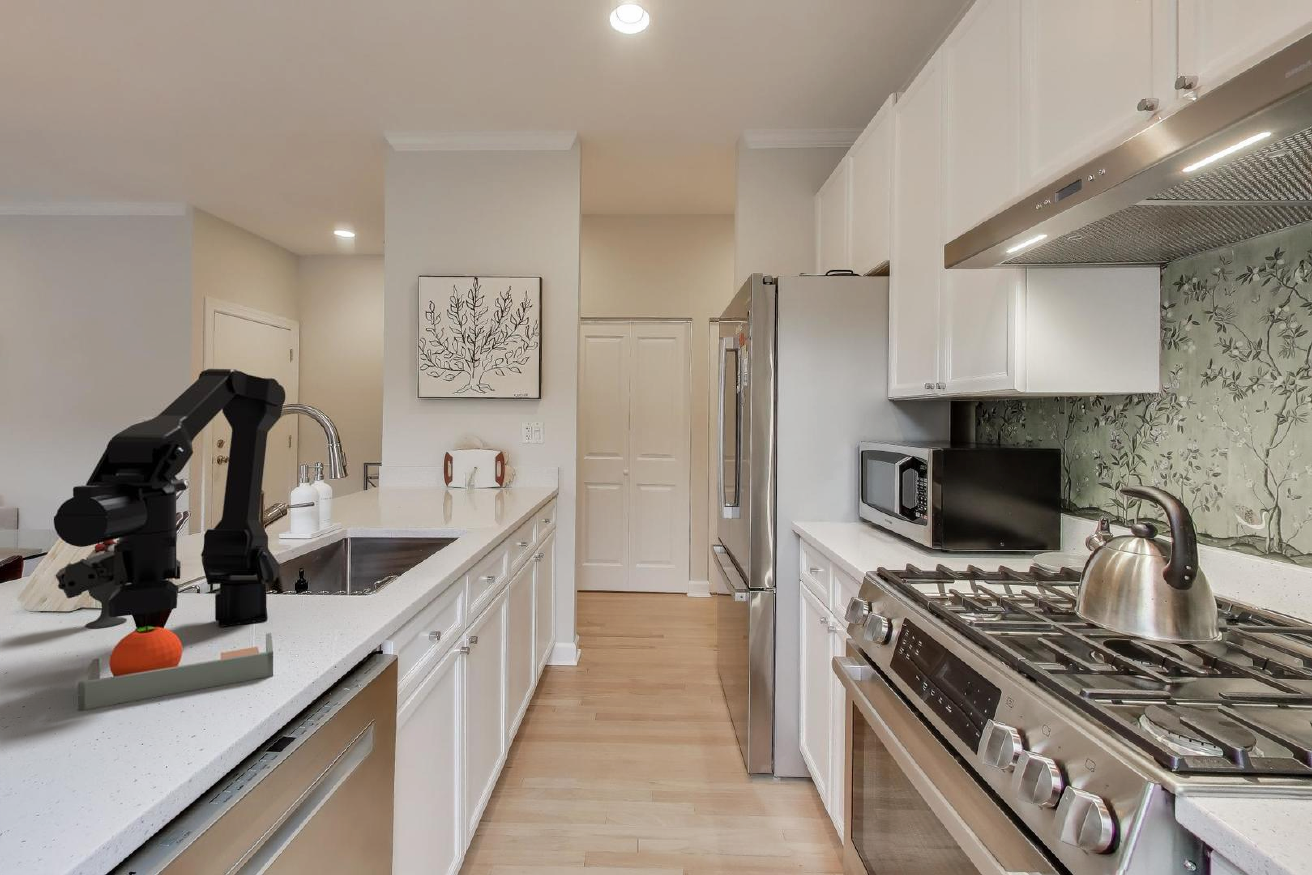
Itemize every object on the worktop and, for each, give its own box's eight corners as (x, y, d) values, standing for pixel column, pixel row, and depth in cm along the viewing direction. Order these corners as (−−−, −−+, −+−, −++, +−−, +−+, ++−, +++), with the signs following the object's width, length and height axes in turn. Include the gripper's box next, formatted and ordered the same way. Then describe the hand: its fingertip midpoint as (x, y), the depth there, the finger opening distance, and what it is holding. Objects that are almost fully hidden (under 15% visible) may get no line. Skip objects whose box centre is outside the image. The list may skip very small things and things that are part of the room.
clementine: (99, 684, 76) (98, 626, 76) (168, 666, 81) (168, 613, 81) (119, 702, 71) (119, 641, 71) (191, 682, 77) (191, 625, 77)
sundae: (86, 633, 93) (86, 533, 93) (71, 625, 97) (70, 529, 96) (141, 621, 99) (140, 528, 98) (124, 614, 102) (124, 523, 102)
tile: (257, 664, 83) (257, 646, 83) (260, 674, 80) (260, 655, 80) (221, 671, 81) (220, 652, 81) (222, 682, 78) (222, 662, 77)
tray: (271, 654, 86) (271, 633, 86) (273, 675, 79) (273, 652, 79) (93, 683, 76) (93, 659, 76) (77, 710, 69) (77, 683, 69)
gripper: (75, 523, 83) (76, 638, 83) (46, 551, 68) (48, 691, 68) (180, 516, 89) (180, 623, 90) (176, 540, 74) (176, 669, 75)
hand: (149, 649), depth 80 cm, fingers closed
